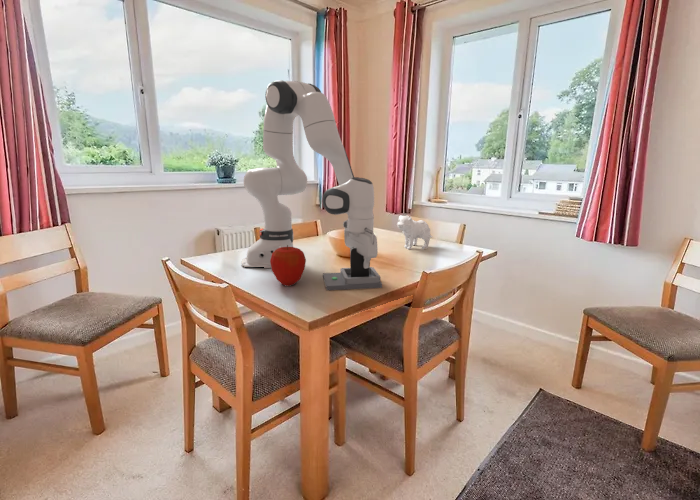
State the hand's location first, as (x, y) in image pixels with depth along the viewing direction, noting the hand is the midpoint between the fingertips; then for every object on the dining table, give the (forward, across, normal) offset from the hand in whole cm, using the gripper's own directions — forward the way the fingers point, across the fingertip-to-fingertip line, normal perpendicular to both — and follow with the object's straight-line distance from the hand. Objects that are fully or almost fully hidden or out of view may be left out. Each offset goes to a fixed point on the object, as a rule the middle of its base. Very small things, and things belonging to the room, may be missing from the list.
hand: (359, 264), depth 128 cm
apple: (+7, +7, +24) cm, 26 cm away
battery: (+5, 0, 0) cm, 5 cm away
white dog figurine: (+7, +38, -48) cm, 61 cm away
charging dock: (+7, +1, +3) cm, 7 cm away
